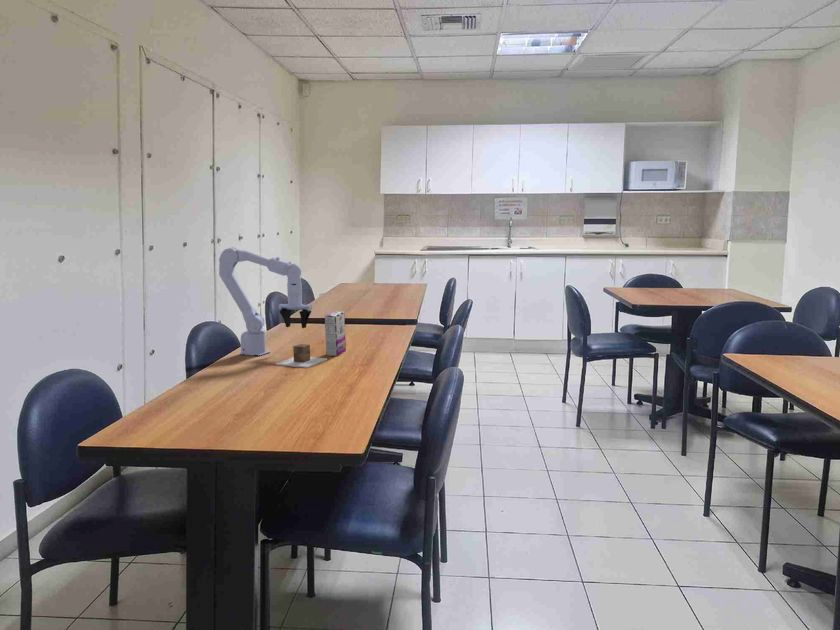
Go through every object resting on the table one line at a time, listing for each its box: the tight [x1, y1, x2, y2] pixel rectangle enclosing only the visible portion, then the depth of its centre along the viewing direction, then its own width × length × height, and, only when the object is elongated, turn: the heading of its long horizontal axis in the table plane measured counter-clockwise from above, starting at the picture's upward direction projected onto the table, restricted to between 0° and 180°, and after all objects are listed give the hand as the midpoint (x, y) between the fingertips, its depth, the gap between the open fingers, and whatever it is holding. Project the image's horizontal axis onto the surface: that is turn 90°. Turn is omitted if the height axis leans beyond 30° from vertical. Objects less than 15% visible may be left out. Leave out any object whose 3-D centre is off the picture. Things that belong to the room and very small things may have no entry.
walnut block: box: [292, 343, 311, 363], centre depth 242 cm, size 4×4×6 cm
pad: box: [275, 356, 328, 369], centre depth 242 cm, size 14×14×1 cm
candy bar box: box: [324, 311, 347, 357], centre depth 257 cm, size 11×5×16 cm, turn 168°
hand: (296, 327), depth 259 cm, fingers open, 7 cm apart
